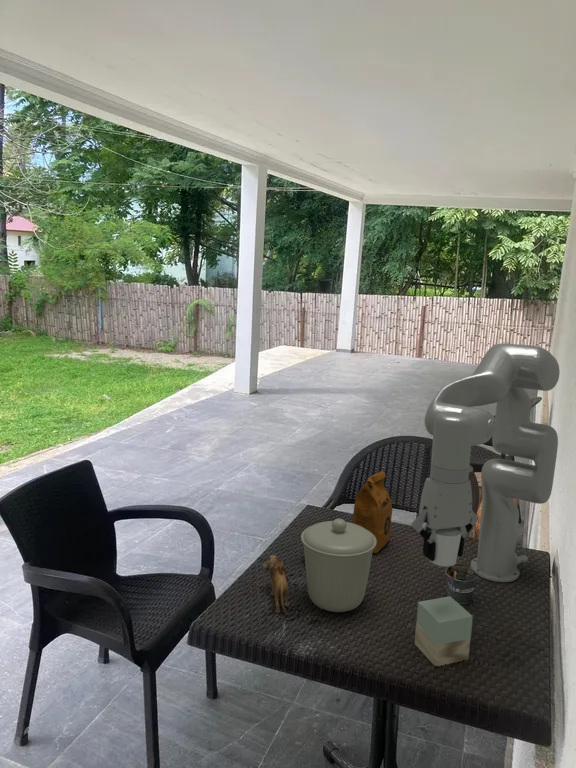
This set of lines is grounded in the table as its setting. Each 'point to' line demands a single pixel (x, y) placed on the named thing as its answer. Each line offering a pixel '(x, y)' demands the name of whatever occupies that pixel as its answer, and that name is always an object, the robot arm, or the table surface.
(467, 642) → the tower base
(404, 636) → the table surface
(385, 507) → the coffee package
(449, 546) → the shot glass
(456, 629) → the tower top
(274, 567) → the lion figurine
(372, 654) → the table surface
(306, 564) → the canister
